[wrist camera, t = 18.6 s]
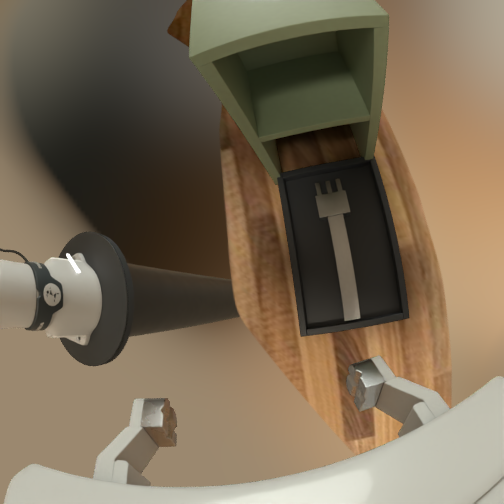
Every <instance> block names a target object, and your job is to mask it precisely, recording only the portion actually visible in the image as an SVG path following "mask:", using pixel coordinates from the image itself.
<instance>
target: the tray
mask: <svg viewBox="0 0 504 504" xmlns="http://www.w3.org/2000/svg"><path fill="white" fill-rule="evenodd" d="M335 179H340V182H341V186H342V190H345V191H346V195H347V199H348V203H349V208H350V215H345V216H344V221H345V226H346V230H347V235H348V240H349V246H350V251H351V256H352V262H353V268H354V274H355V280H356V287H357V293H358V301H359V308H360V316H361V318H360V319H355V320H349V321H345V320H344V313H343V305H342V298H341V291H340V284H339V278H338V271H337V265H336V259H335V254H334V248H333V242H332V237H331V232H330V227H329V222H328V219H324V220H320V217H319V212H318V207H317V202H316V197H315V196H318V195H317V191H316V186H315V183H319V184H320V188H321V193H322V195H323V194H328V192H327V188H326V184H325V181H330V185H331V189H332V193H333V192H338V190H337V186H336V182H335ZM277 181H278V186H279V192H280V198H281V204H282V210H283V216H284V222H285V228H286V234H287V241H288V247H289V254H290V260H291V267H292V274H293V281H294V288H295V296H296V303H297V311H298V318H299V326H300V335H301V337H302V336H310V335H318V334H325V333H332V332H338V331H344V330H351V329H356V328H362V327H368V326H373V325H378V324H383V323H388V322H393V321H398V320H403V319H407V318H409V309H408V301H407V293H406V286H405V279H404V273H403V267H402V262H401V256H400V251H399V246H398V241H397V236H396V232H395V227H394V223H393V219H392V215H391V211H390V207H389V203H388V199H387V196H386V192H385V189H384V185H383V182H382V178H381V175H380V172H379V169H378V166H377V163H376V160H375V157H373V159H370V160H365V159H364V157H358V158H353V159H347V160H341V161H336V162H331V163H326V164H321V165H316V166H311V167H306V168H301V169H297V170H292V171H287V172H283V173H280V177H278V178H277Z"/></svg>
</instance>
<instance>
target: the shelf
mask: <svg viewBox="0 0 504 504" xmlns="http://www.w3.org/2000/svg"><path fill="white" fill-rule="evenodd" d="M388 34H389V15H388V14H387V13H386V11H385V10H384V9H383V8H382V7H381V6H380V5H379V4H378V3H377V2H376V1H374V0H193V1H192V13H191V28H190V46H189V58H190V60H191V61H192V62H193V64H194V65H195V66H196V67H197V69H198V70H199V72H200V73H201V75H202V76H203V77H204V79H205V80H206V81H207V83H208V84H209V86H210V87H211V88H212V90H213V91H214V92H215V94H216V95H217V97H218V98H219V100H220V101H221V102H222V104H223V105H224V107H225V108H226V110H227V111H228V112H229V114H230V115H231V117H232V118H233V120H234V121H235V123H236V124H237V126H238V127H239V129H240V130H241V132H242V133H243V135H244V136H245V138H246V139H247V141H248V142H249V144H250V145H251V147H252V148H253V150H254V151H255V153H256V154H257V156H258V158H259V159H260V161H261V162H262V164H263V165H264V167H265V169H266V170H267V172H268V173H269V175H270V176H271V178H272V180H273V181H274V183H275V184H276V185H278V181H277V178H278V177H280V173H282V171H281V166H280V160H279V155H278V150H277V145H276V140H275V139H278V138H282V137H286V136H290V135H295V134H299V133H304V132H308V131H313V130H318V129H323V128H328V127H334V126H339V125H345V124H349V125H350V128H351V130H352V133H353V136H354V139H355V142H356V145H357V148H358V151H359V154H360V157H364V159H365V160H370V159H373V157H374V152H375V146H376V141H377V135H378V129H379V122H380V116H381V109H382V102H383V94H384V85H385V75H386V65H387V52H388Z"/></svg>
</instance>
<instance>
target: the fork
mask: <svg viewBox="0 0 504 504" xmlns="http://www.w3.org/2000/svg"><path fill="white" fill-rule="evenodd" d="M335 182H336V186H337V190H338V192H333V193H332V189H331V185H330V181H325V184H326V188H327V192H328V194H323V195H322V193H321V188H320V184H319V183H315V186H316V191H317V195H318V196H315V197H316V202H317V207H318V212H319V217H320V220H324V219H328V222H329V227H330V232H331V237H332V242H333V248H334V254H335V259H336V265H337V271H338V278H339V284H340V291H341V298H342V305H343V313H344V320H345V321H349V320H355V319H360V318H361V316H360V308H359V301H358V293H357V287H356V280H355V274H354V268H353V262H352V256H351V251H350V246H349V240H348V235H347V230H346V226H345V221H344V216H345V215H350V208H349V203H348V199H347V195H346V191H345V190H342V186H341V182H340V179H335Z"/></svg>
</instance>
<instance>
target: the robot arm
mask: <svg viewBox="0 0 504 504" xmlns="http://www.w3.org/2000/svg"><path fill="white" fill-rule="evenodd" d="M0 251H3V252H13V253H16V254H18V255H20V256H21V257H22V258H23V259H24V260H25V261H26V262H25V263H18V262H12V261H6V260H1V259H0V329H7V328H25V329H26V330H31V331H38V330H45V331H46V335H47V336H48V337H52V338H63V337H65V338H67V339H69V340H72V341H74V342H76V343H78V344H81V345H88V343H89V340H90V336H91V333H92V332H93V330H94V329H95V328H96V326H97V324H98V322H99V319H100V316H101V310H102V292H101V287H100V283H99V280H98V277H97V275H96V273H95V271H94V270H93V269H92V268H91V267H90V266H89V265H88V264H87V263H86V261H85V258H84V256H83V254H82V253H76V254H75V255H73V256H72V257H71V256H70V254H66V256H67V257H68V259H63V258H53V257H52V258H50V259H49V260H47V261H46V262H45V263H44V264H41V263H37V262H29V261H28V260H27V259H26V258H25V257H24V256H23V255H22V254H21V253H19V252H17V251H14V250H3V249H0ZM348 371H349V373H350V374H349V375H348V376H347V380H346V383H347V388H348V391H349V393H350V395H352V396H354V397H355V400H354V403H355V404H356V406H357V408H358V410H359V412H360V411H363V410H366V409H369V408H372V407H374V406H376V408H378V409H380V410H381V411H383V412H384V413H386V414H388V415H389V416H391V417H393V418H394V419H396V420H398V421H399V422H401V423H403V426H402V427H401V429H400V431H399V433H398V435H399V438H397V439H395V440H393V441H391V442H388V443H386V444H384V445H382V446H379V447H377V448H374V449H372V450H369V451H367V452H364V453H362V454H359V455H357V456H354V457H351V458H348V459H345V460H342V461H340V462H336V463H333V464H330V465H327V466H324V467H320V468H317V469H313V470H309V471H305V472H301V473H297V474H293V475H289V476H284V477H279V478H273V479H268V480H262V481H256V482H249V483H241V484H232V485H221V486H207V487H156V486H150V482H149V481H148V480H147V479H146V478H145V477H144V476H142V475H141V473H142V472H143V470H144V469H145V467H146V466H147V465H148V463H149V462H150V460H151V459H152V457H153V456H154V454H155V453H156V451H157V450H158V448H159V447H171V446H176V436H177V435H176V433H175V431H174V429H175V428H176V427H177V419H176V414H175V411H174V409H173V408H172V407H170V402H169V400H168V398H161V399H160V398H159V399H158V398H157V399H135V400H134V402H133V407H132V412H131V418H130V423H129V427H126V428H125V429H124V430H123V431H122V432H121V433H120V434H119V435H118V436H117V437H116V438H115V439H114V440H113V441H112V442H111V443H110V444H109V445H108V446H107V447H106V448H105V449H104V450H103V451H102V452H101V453H100V454H99V455H98V457H97V460H96V465H95V471H94V476H93V479H91V478H86V477H82V476H77V475H73V474H69V473H65V472H61V471H58V470H54V469H51V468H47V467H44V466H41V465H38V464H31V465H29V466H27V467H26V468H24V469H23V470H21V471H20V472H19V473H18V474H16V475H15V476H14V477H13V478H12V480H11V482H10V484H9V487H8V490H7V493H6V496H5V500H4V504H504V377H500V376H497V377H495V378H493V379H492V380H491V381H490V382H488V383H487V384H485V385H484V386H483V387H482V388H480V389H479V390H478V391H476V392H475V393H473V394H472V395H471V396H469V397H468V398H466V399H465V400H463V401H462V402H461V403H459V404H458V405H456V406H454V407H453V408H451V409H450V408H449V407H448V405H447V404H446V403H445V401H444V400H443V399H442V398H441V396H440V395H439V394H438V392H436V391H433V390H431V389H428V388H425V387H423V386H420V385H418V384H416V383H413V382H411V381H408V380H406V379H403V378H401V377H397V378H396V376H395V375H394V374H393V372H392V371H391V370H390V368H389V367H388V365H387V364H386V363H385V361H384V360H383V359H382V357H381V356H376V357H373V358H370V359H366V360H363V361H360V362H357V363H354V364H351V365H350V366H349V369H348Z"/></svg>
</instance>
